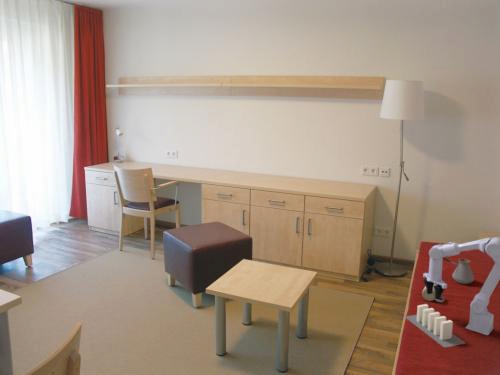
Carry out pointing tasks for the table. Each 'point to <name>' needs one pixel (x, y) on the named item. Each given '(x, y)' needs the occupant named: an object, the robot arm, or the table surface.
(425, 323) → the domino
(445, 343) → the mat
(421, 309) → the domino
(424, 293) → the ceramic mug
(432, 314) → the domino
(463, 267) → the coffee pot
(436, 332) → the domino
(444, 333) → the domino
